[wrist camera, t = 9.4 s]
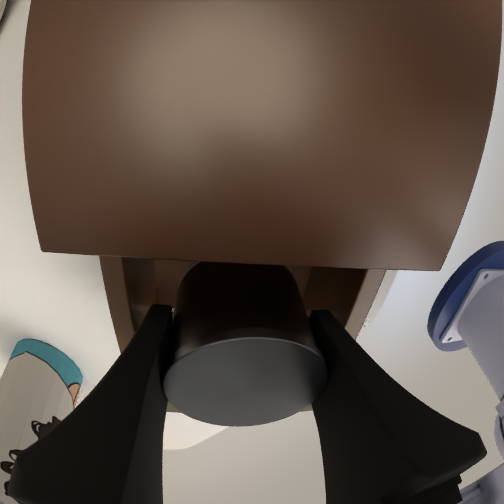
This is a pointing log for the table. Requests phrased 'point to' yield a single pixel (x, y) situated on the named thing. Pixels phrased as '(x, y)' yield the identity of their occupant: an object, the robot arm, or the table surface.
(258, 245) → the cabinet
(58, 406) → the cartoon face cylinder
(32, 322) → the table surface
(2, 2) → the dinosaur figurine
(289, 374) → the steel tin
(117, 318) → the drawer
